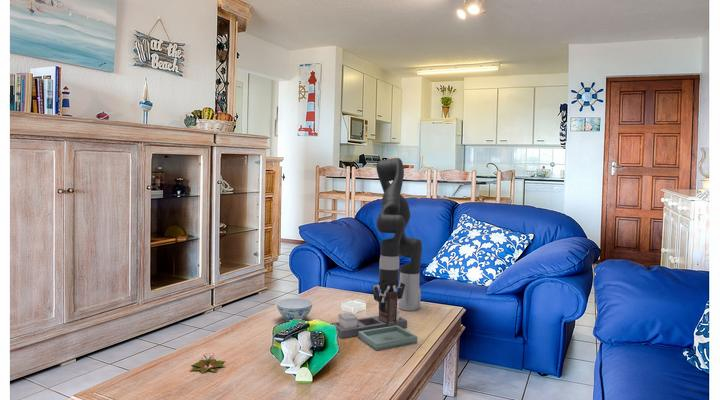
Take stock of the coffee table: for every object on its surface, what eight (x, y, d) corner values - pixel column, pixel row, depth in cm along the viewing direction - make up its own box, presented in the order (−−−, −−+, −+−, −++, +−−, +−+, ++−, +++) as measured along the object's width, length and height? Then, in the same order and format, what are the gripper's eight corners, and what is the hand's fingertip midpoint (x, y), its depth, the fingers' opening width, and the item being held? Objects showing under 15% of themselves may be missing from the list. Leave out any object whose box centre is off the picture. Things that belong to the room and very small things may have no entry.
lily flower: (197, 359, 163) (197, 346, 163) (231, 361, 163) (232, 347, 163) (182, 375, 152) (182, 361, 151) (220, 376, 151) (220, 362, 151)
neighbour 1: (349, 329, 196) (350, 312, 195) (356, 334, 190) (357, 316, 190) (338, 331, 193) (338, 314, 193) (345, 336, 188) (345, 318, 187)
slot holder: (393, 320, 208) (393, 313, 208) (406, 327, 199) (407, 320, 199) (330, 330, 194) (330, 322, 194) (341, 338, 185) (341, 331, 185)
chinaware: (319, 321, 205) (319, 303, 204) (291, 329, 194) (292, 310, 193) (296, 312, 215) (297, 295, 214) (269, 320, 204) (269, 302, 203)
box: (397, 322, 183) (398, 291, 182) (388, 325, 180) (389, 293, 179) (386, 318, 188) (387, 288, 187) (377, 320, 185) (378, 290, 184)
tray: (396, 331, 195) (397, 325, 195) (417, 342, 183) (417, 336, 182) (357, 337, 186) (358, 331, 186) (376, 350, 174) (376, 344, 174)
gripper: (399, 263, 189) (398, 306, 190) (368, 266, 182) (366, 310, 184) (410, 267, 182) (408, 311, 184) (378, 270, 176) (376, 316, 177)
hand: (387, 310), depth 184 cm, fingers closed on box, 4 cm apart
